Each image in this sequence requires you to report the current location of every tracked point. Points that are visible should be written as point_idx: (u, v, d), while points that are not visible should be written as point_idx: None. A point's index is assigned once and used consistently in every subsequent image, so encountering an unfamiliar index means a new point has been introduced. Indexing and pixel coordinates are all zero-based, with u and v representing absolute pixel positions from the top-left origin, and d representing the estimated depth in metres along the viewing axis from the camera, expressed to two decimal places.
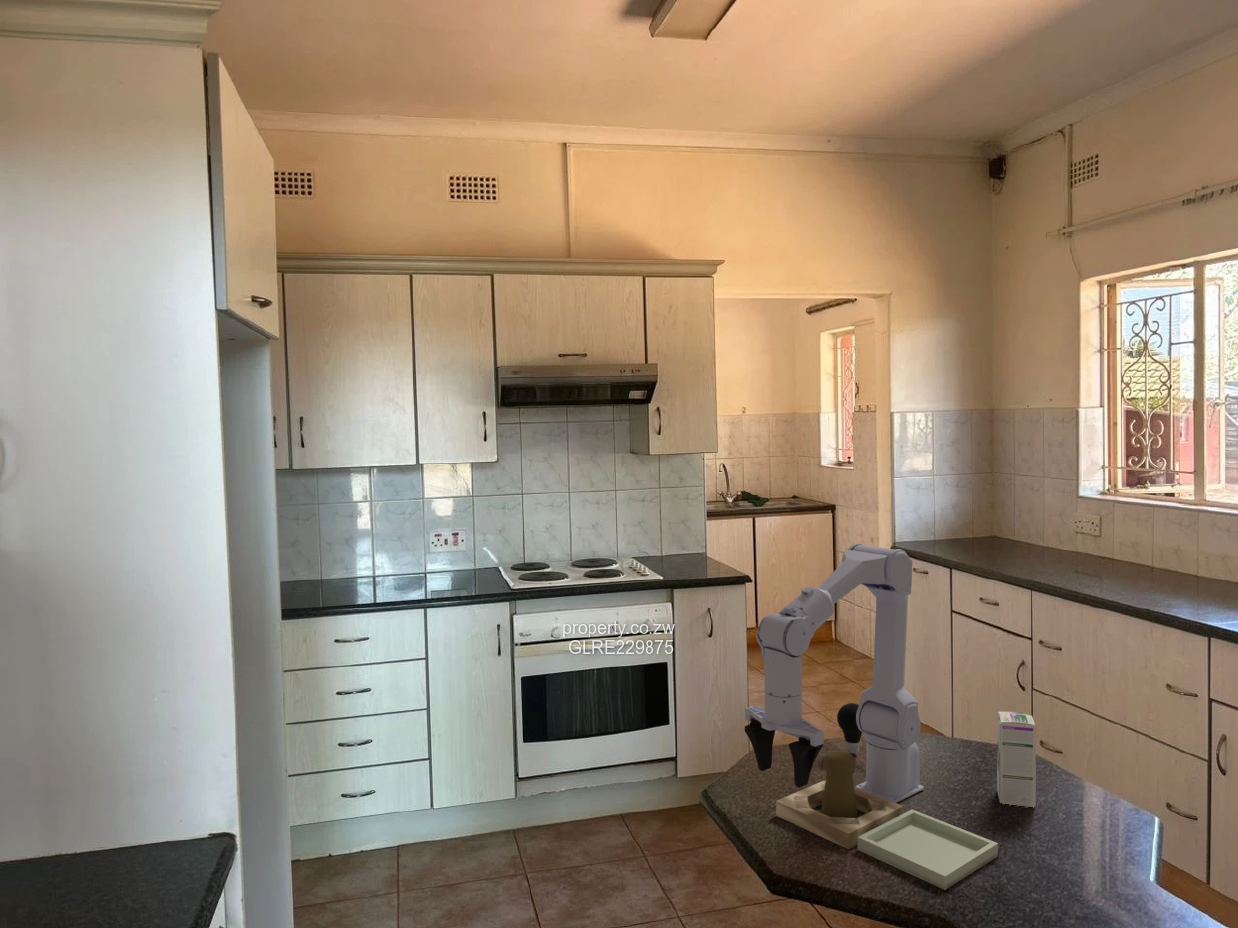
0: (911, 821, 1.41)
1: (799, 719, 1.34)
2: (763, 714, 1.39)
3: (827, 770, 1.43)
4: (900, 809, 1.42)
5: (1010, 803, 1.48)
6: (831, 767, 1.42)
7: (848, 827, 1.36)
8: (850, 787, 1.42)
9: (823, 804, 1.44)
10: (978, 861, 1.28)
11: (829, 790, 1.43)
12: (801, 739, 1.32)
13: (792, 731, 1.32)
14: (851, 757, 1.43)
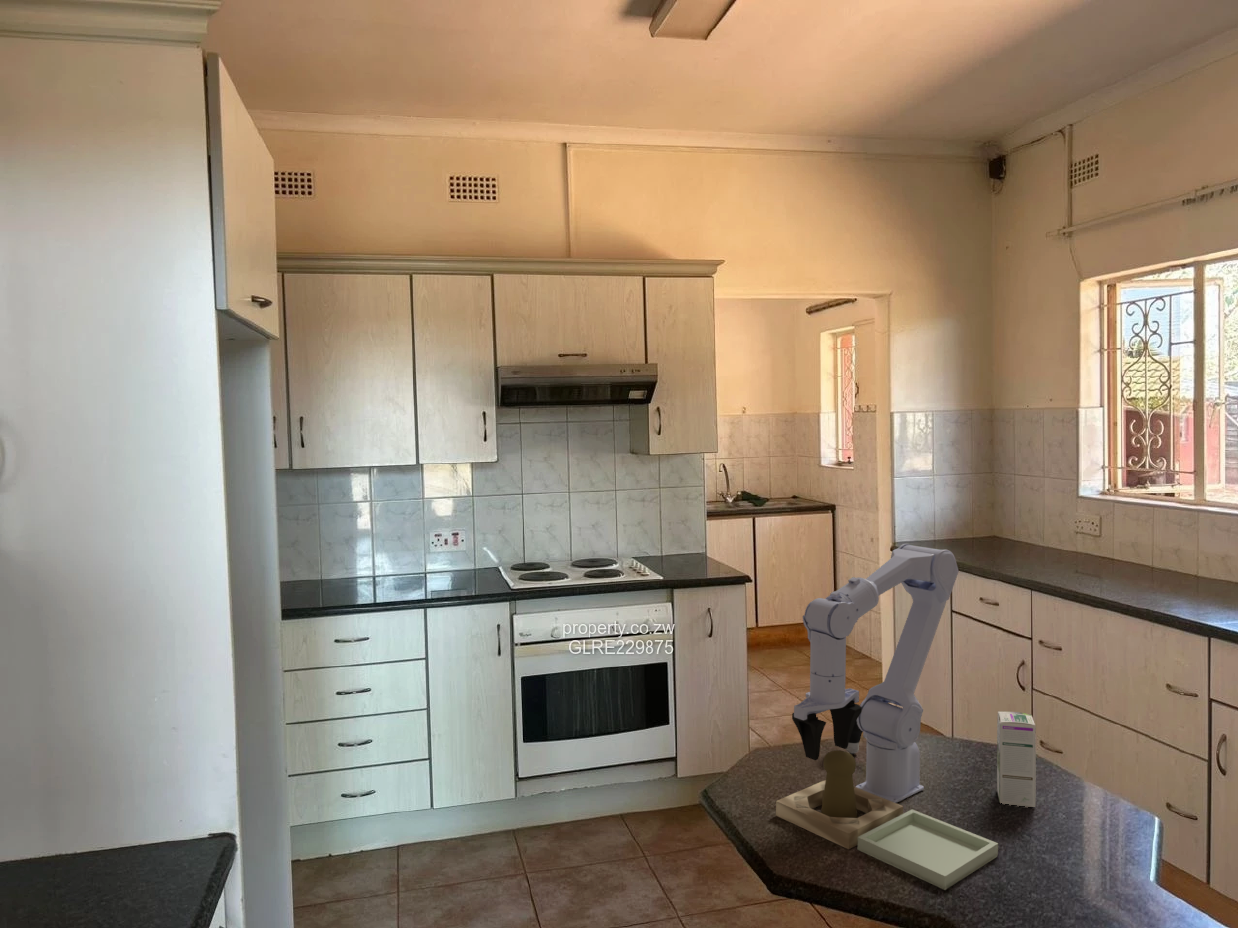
0: (911, 821, 1.41)
1: (820, 698, 1.43)
2: None
3: (827, 770, 1.43)
4: (900, 809, 1.42)
5: (1010, 803, 1.48)
6: (831, 767, 1.42)
7: (848, 827, 1.36)
8: (850, 787, 1.42)
9: (823, 804, 1.44)
10: (978, 861, 1.28)
11: (829, 790, 1.43)
12: None
13: (803, 702, 1.44)
14: (851, 757, 1.43)
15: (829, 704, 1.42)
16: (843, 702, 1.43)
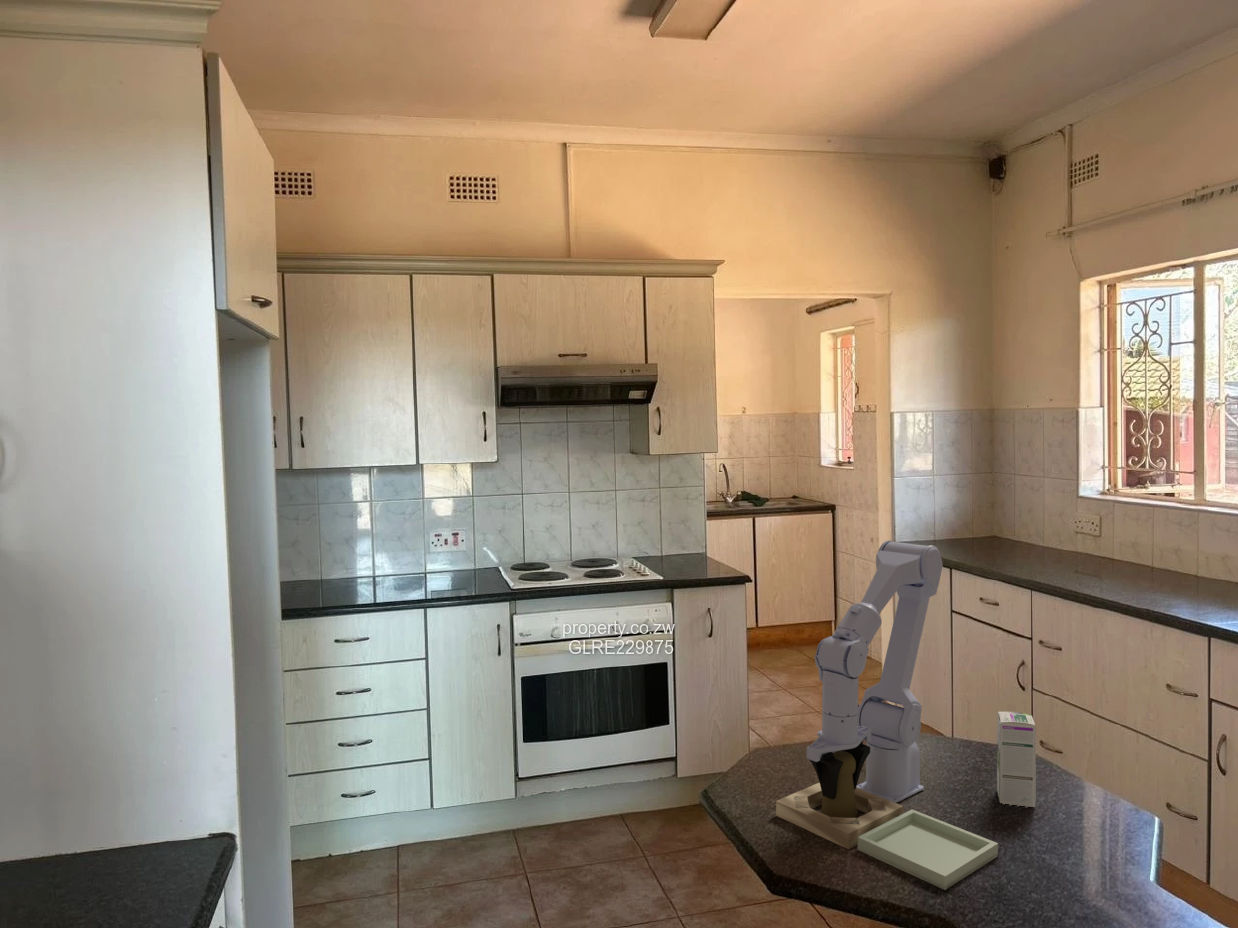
0: (911, 821, 1.41)
1: (832, 739, 1.41)
2: None
3: None
4: (900, 809, 1.42)
5: (1010, 803, 1.48)
6: None
7: (848, 827, 1.36)
8: (850, 787, 1.42)
9: (823, 803, 1.44)
10: (978, 861, 1.28)
11: None
12: None
13: None
14: (851, 757, 1.43)
15: (842, 744, 1.40)
16: (856, 742, 1.41)
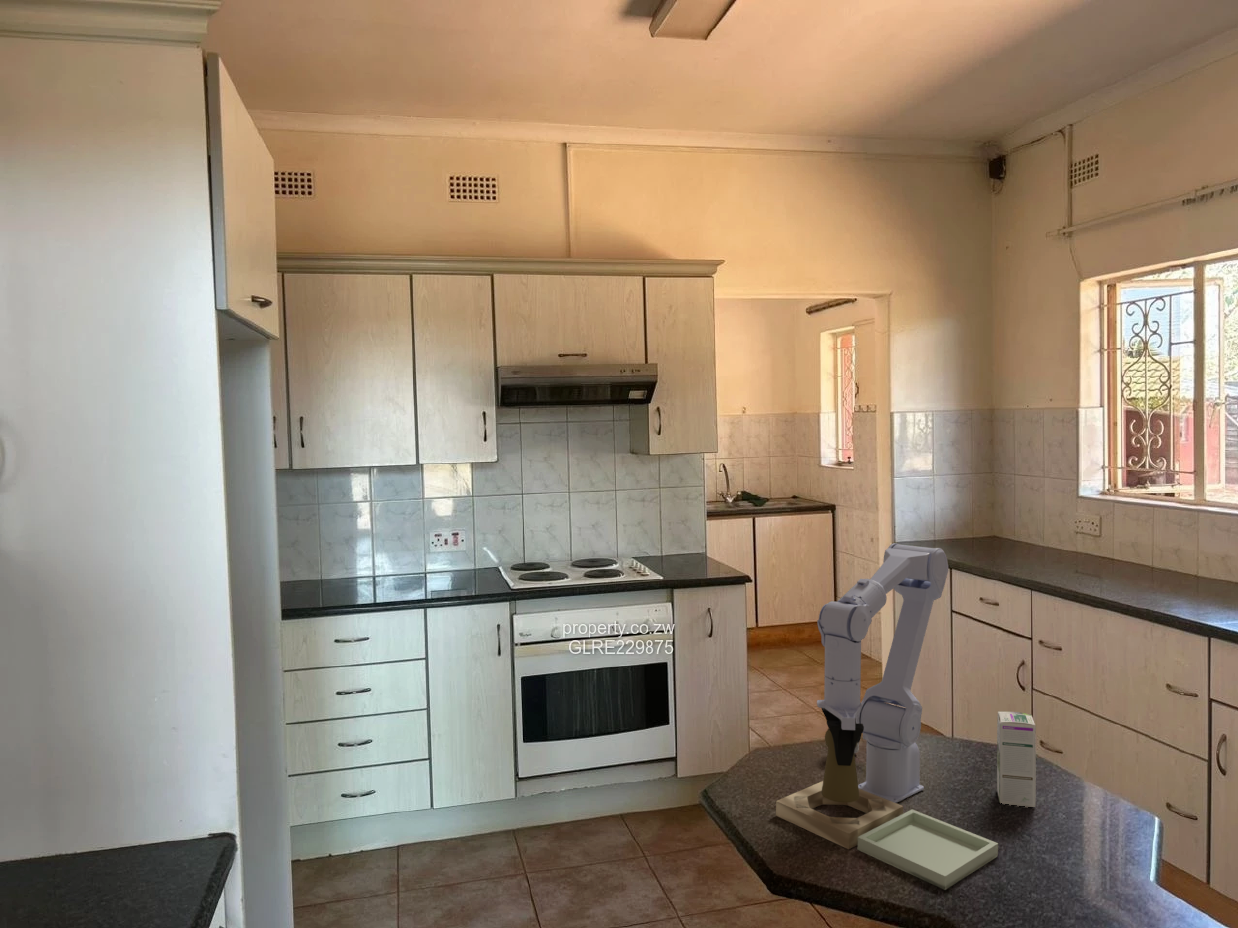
0: (911, 821, 1.41)
1: (849, 704, 1.40)
2: None
3: None
4: (900, 809, 1.42)
5: (1010, 803, 1.48)
6: None
7: (848, 827, 1.36)
8: None
9: (834, 784, 1.41)
10: (978, 861, 1.28)
11: (842, 768, 1.41)
12: (840, 722, 1.38)
13: (832, 712, 1.39)
14: None
15: (858, 707, 1.40)
16: None
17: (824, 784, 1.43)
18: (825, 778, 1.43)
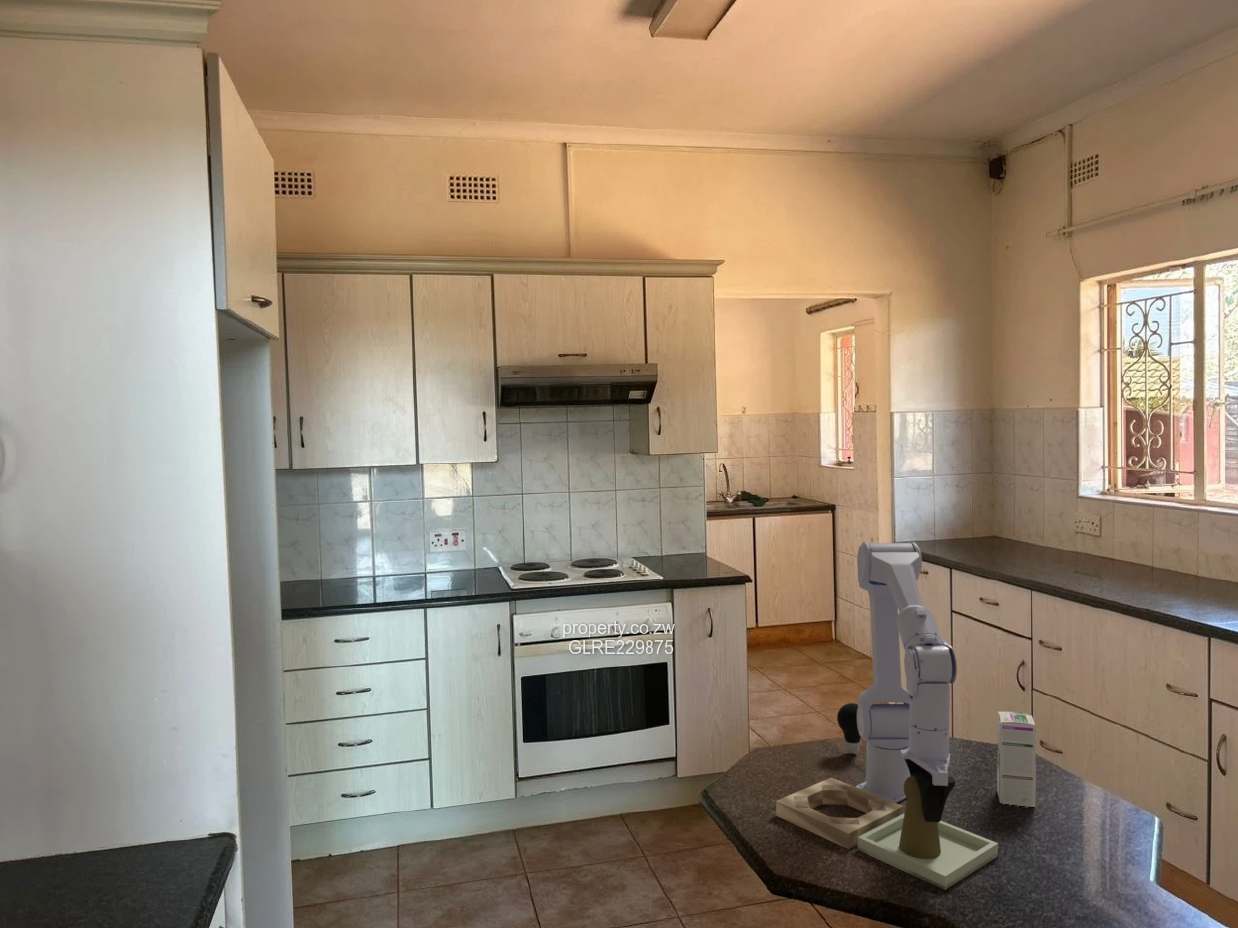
0: None
1: (938, 756, 1.29)
2: None
3: (920, 801, 1.30)
4: (900, 809, 1.42)
5: (1010, 803, 1.48)
6: None
7: (848, 827, 1.36)
8: None
9: (914, 838, 1.31)
10: (978, 861, 1.28)
11: (923, 821, 1.30)
12: (929, 775, 1.28)
13: (921, 764, 1.28)
14: None
15: (947, 759, 1.29)
16: None
17: (902, 837, 1.33)
18: (904, 831, 1.32)
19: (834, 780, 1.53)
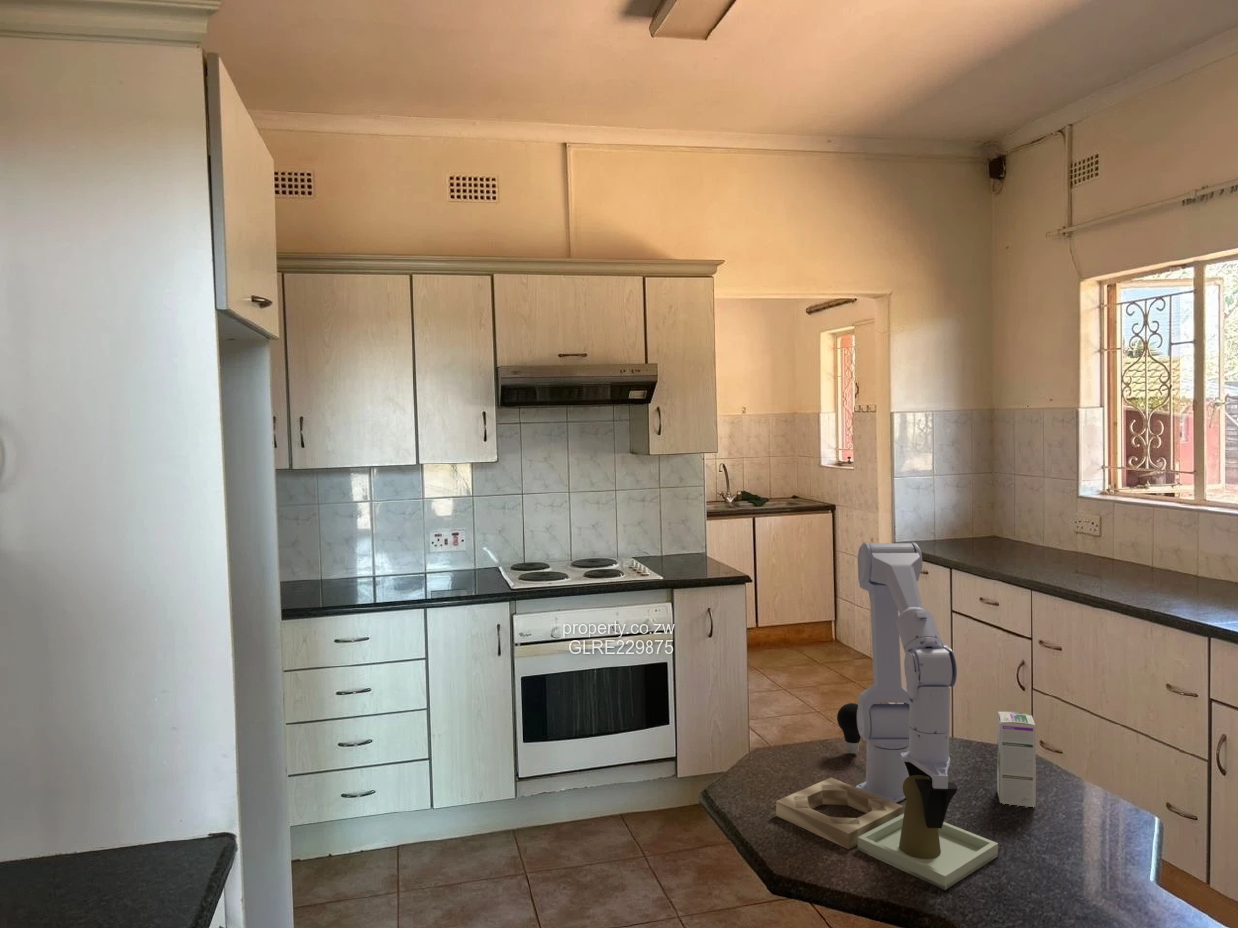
0: None
1: (938, 759, 1.29)
2: None
3: (919, 800, 1.30)
4: (900, 809, 1.42)
5: (1010, 803, 1.48)
6: None
7: (848, 827, 1.36)
8: None
9: (913, 839, 1.31)
10: (978, 861, 1.28)
11: (922, 821, 1.30)
12: (929, 778, 1.28)
13: (921, 767, 1.28)
14: None
15: (947, 762, 1.29)
16: None
17: (902, 838, 1.33)
18: (903, 831, 1.32)
19: (834, 780, 1.53)
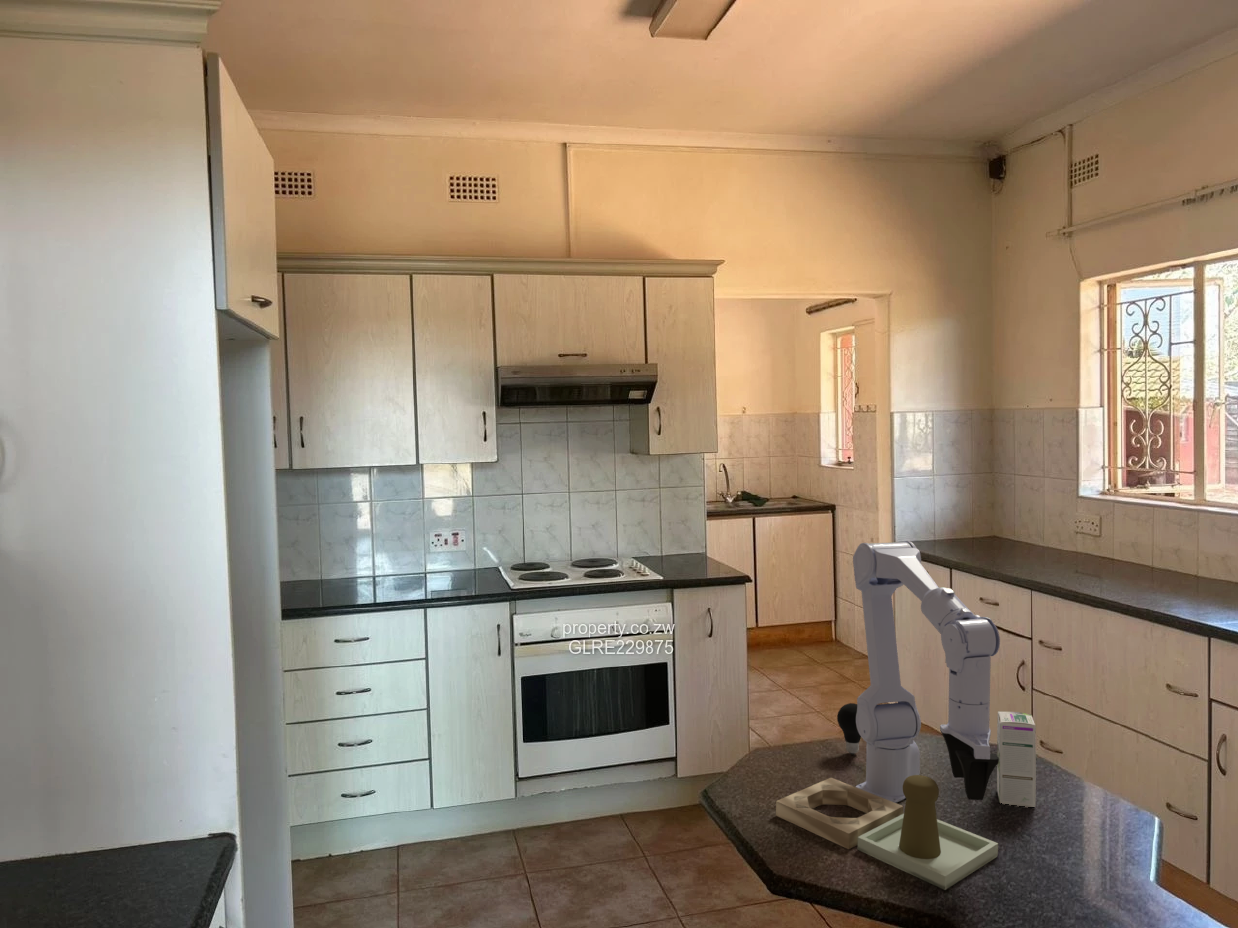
0: None
1: (978, 730, 1.28)
2: None
3: (919, 800, 1.30)
4: (900, 809, 1.42)
5: (1010, 803, 1.48)
6: (926, 795, 1.30)
7: (848, 827, 1.36)
8: None
9: (913, 839, 1.31)
10: (978, 861, 1.28)
11: (922, 821, 1.30)
12: (971, 749, 1.27)
13: (961, 738, 1.28)
14: (932, 779, 1.33)
15: (988, 733, 1.28)
16: None
17: (902, 838, 1.33)
18: (903, 831, 1.32)
19: (834, 780, 1.53)
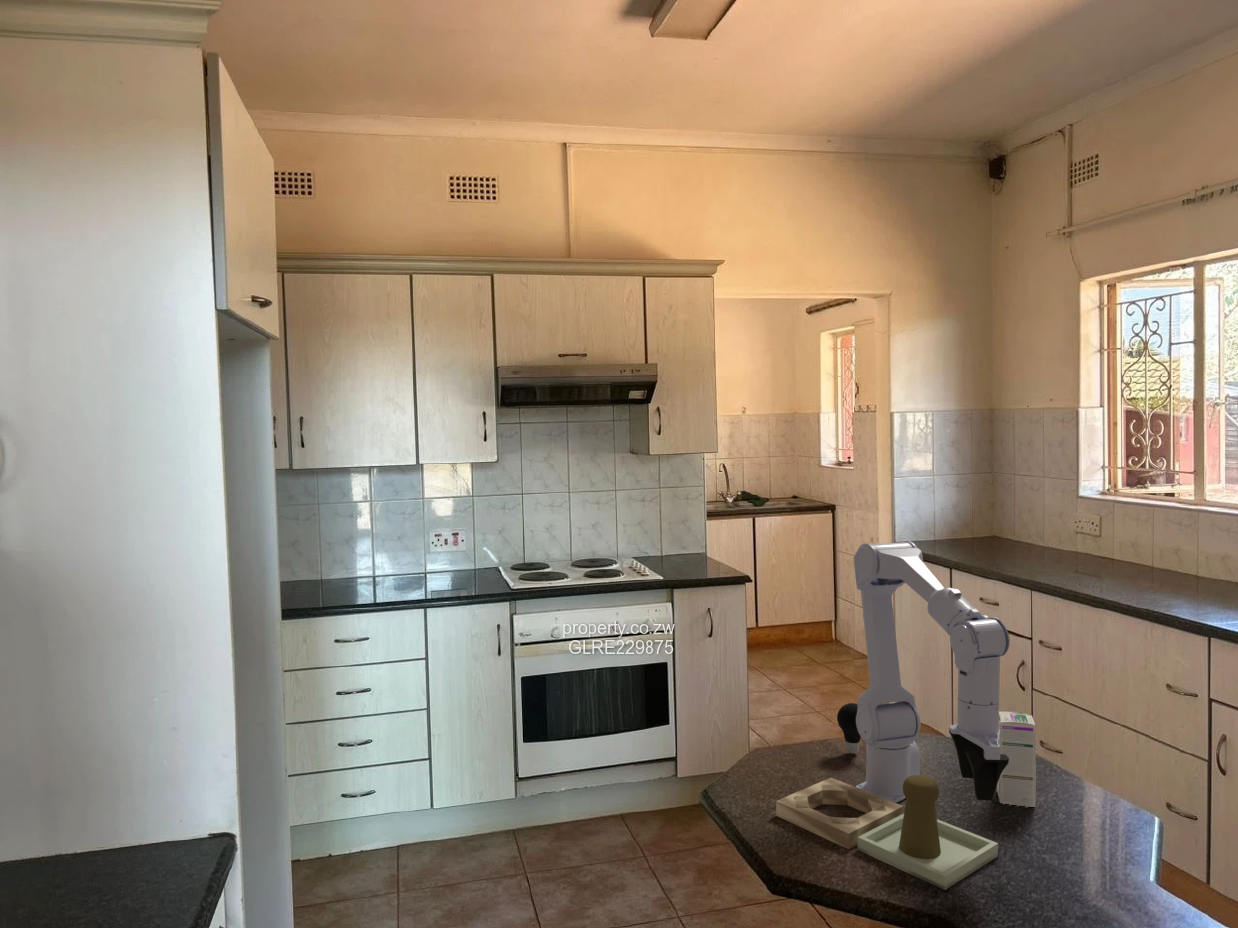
0: None
1: (988, 730, 1.28)
2: None
3: (919, 800, 1.30)
4: (900, 809, 1.42)
5: (1010, 803, 1.48)
6: (926, 795, 1.30)
7: (848, 827, 1.36)
8: None
9: (913, 839, 1.31)
10: (978, 861, 1.28)
11: (922, 821, 1.30)
12: (980, 750, 1.27)
13: (971, 739, 1.27)
14: (932, 779, 1.33)
15: (997, 734, 1.28)
16: None
17: (902, 838, 1.33)
18: (903, 831, 1.32)
19: (834, 780, 1.53)
